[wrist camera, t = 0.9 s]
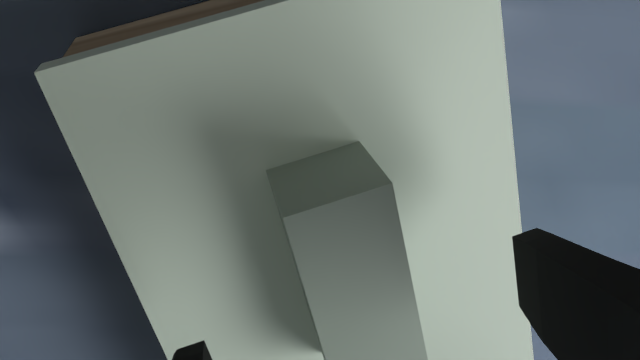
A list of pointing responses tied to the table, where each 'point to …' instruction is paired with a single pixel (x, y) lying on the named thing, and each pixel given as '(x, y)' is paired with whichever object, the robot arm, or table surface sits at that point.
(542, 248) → the robot arm
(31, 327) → the table surface
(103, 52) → the lid
